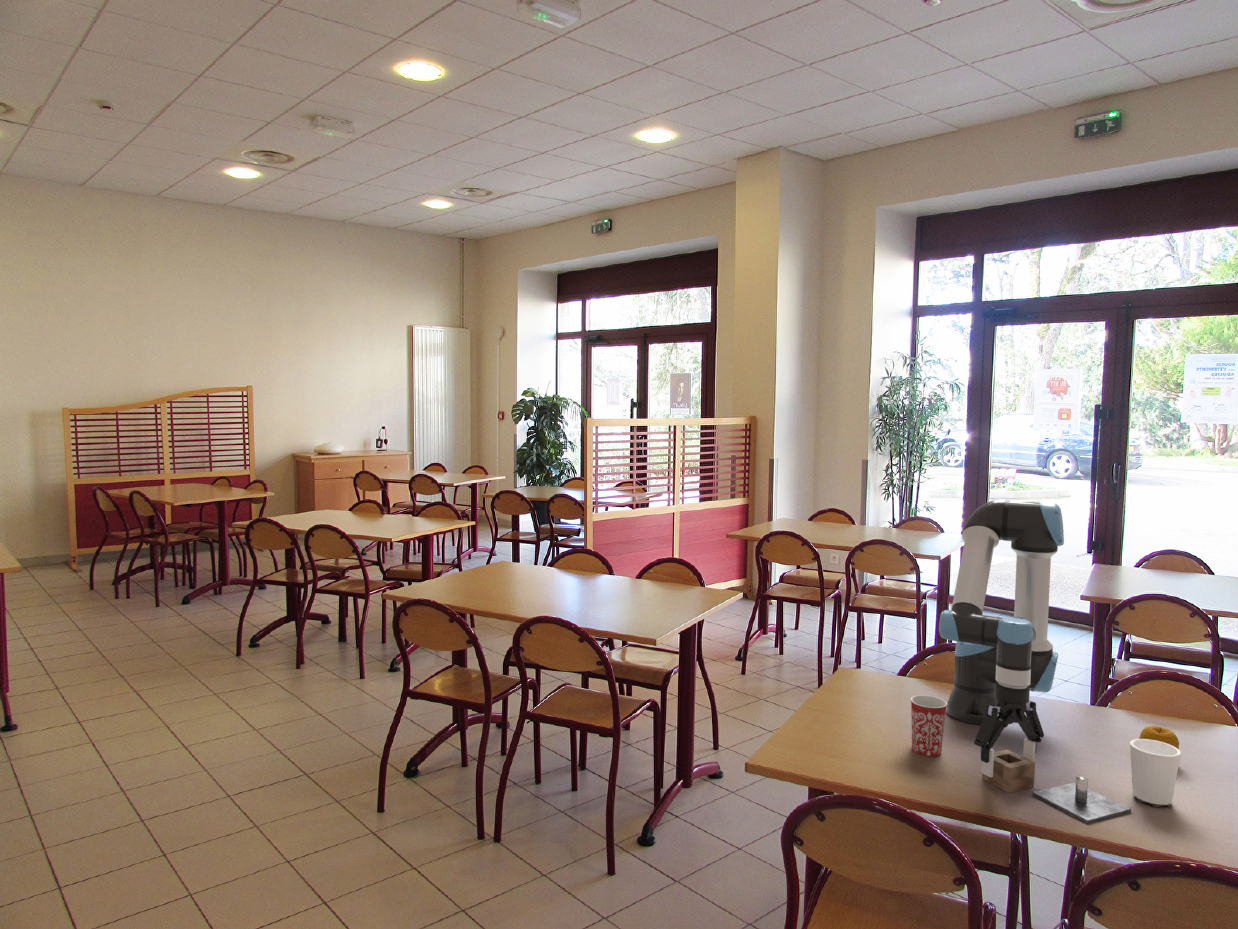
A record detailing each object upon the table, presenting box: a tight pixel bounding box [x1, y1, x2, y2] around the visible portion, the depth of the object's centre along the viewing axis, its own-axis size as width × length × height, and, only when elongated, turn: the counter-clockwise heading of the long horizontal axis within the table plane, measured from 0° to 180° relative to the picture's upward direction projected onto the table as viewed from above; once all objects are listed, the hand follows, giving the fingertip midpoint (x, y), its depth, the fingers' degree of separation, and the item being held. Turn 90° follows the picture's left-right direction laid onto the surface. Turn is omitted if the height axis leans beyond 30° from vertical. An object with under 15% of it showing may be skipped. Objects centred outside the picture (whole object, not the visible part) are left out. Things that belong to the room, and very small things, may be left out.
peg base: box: [1032, 775, 1132, 825], centre depth 186 cm, size 14×14×6 cm
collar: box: [981, 749, 1036, 794], centre depth 196 cm, size 8×8×6 cm
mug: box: [910, 694, 948, 757], centre depth 215 cm, size 13×9×14 cm
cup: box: [1129, 738, 1182, 808], centre depth 188 cm, size 10×10×13 cm
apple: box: [1138, 725, 1180, 750], centre depth 209 cm, size 8×8×9 cm
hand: (1008, 771), depth 196 cm, fingers open, 13 cm apart
